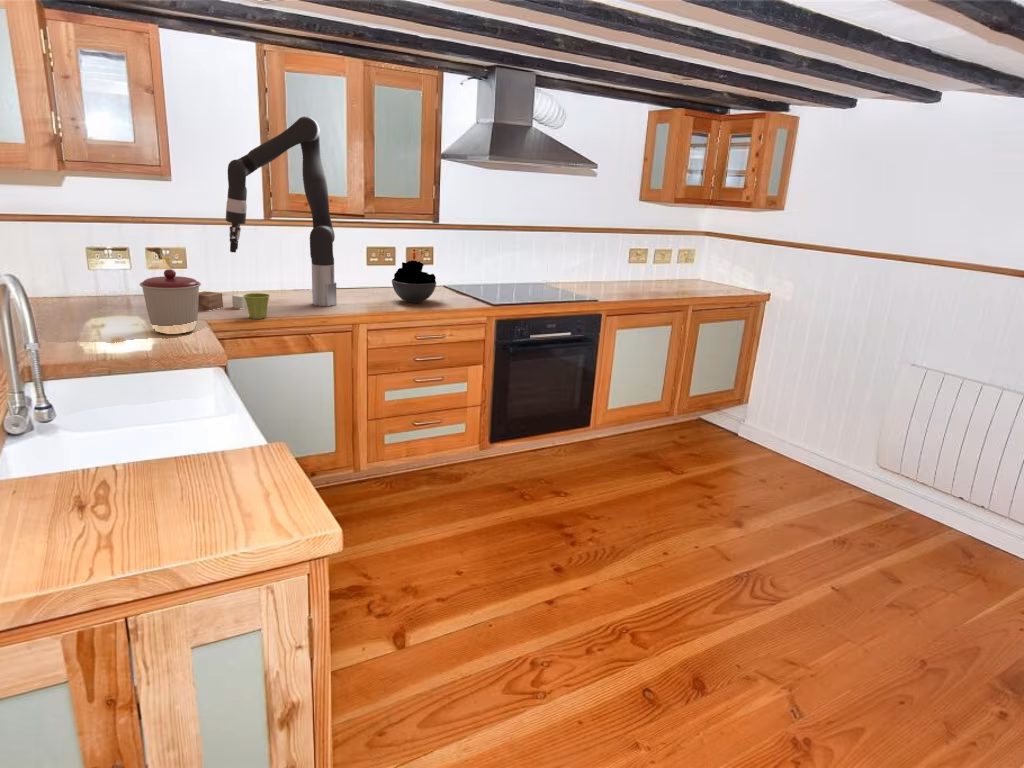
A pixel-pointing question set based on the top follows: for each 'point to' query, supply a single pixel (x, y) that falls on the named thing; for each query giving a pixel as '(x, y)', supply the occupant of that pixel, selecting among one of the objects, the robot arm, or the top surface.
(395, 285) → the bowl of black rocks
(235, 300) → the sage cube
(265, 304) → the plant pot
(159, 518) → the top surface
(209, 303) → the walnut block
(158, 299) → the canister
